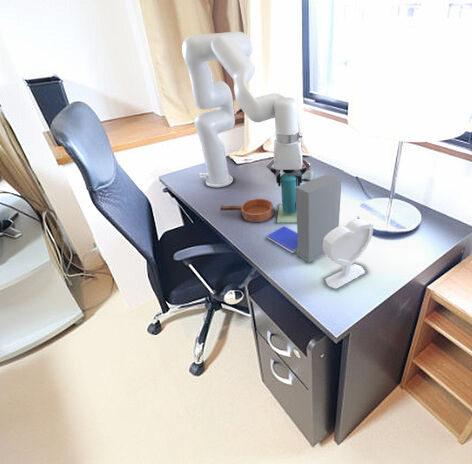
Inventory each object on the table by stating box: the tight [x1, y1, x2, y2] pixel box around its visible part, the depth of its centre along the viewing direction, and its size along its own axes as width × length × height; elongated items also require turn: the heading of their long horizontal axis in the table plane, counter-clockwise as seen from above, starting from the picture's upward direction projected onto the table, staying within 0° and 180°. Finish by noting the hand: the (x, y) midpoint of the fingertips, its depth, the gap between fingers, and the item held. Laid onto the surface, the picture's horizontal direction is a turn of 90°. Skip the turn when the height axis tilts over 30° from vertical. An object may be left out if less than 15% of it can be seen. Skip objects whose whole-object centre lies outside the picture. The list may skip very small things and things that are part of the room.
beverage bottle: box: [280, 170, 298, 214], centre depth 120 cm, size 6×7×20 cm
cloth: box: [276, 204, 297, 224], centre depth 126 cm, size 10×13×1 cm
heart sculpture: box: [323, 218, 374, 289], centre depth 91 cm, size 16×5×18 cm, turn 125°
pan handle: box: [220, 205, 242, 211], centre depth 125 cm, size 8×2×1 cm, turn 89°
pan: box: [240, 198, 274, 223], centre depth 125 cm, size 12×12×4 cm
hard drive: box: [267, 226, 298, 254], centre depth 111 cm, size 2×8×12 cm
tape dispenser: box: [293, 164, 315, 181], centre depth 153 cm, size 18×5×20 cm
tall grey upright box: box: [295, 172, 343, 263], centre depth 99 cm, size 14×6×25 cm, turn 133°
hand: (289, 184), depth 118 cm, fingers closed on beverage bottle, 6 cm apart
